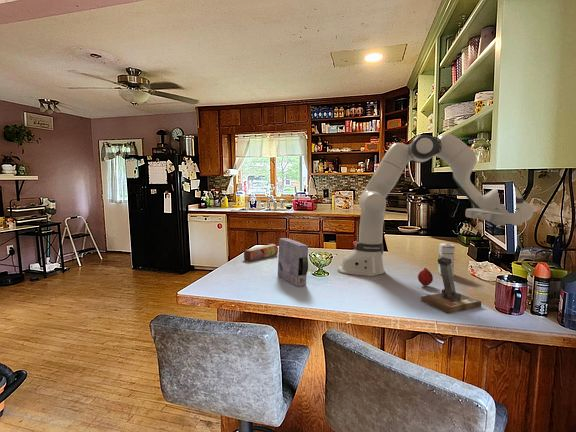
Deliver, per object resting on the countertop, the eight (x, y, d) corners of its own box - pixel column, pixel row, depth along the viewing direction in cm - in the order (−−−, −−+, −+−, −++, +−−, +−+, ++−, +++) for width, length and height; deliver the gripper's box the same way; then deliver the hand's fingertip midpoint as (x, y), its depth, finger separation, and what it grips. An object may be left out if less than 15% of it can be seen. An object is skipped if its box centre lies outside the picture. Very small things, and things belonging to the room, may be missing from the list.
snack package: (250, 262, 181) (250, 250, 180) (242, 260, 185) (242, 248, 184) (278, 255, 196) (278, 244, 195) (270, 254, 200) (270, 242, 200)
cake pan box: (308, 286, 141) (309, 244, 139) (298, 288, 138) (299, 245, 136) (286, 274, 157) (286, 237, 155) (277, 276, 155) (277, 238, 153)
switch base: (452, 295, 130) (453, 284, 129) (481, 306, 119) (482, 294, 118) (420, 301, 123) (421, 289, 123) (448, 313, 113) (448, 300, 112)
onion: (420, 283, 145) (421, 265, 145) (434, 285, 142) (435, 267, 141) (415, 286, 141) (416, 267, 140) (429, 289, 137) (430, 270, 136)
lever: (449, 294, 123) (442, 256, 120) (458, 297, 120) (450, 259, 116) (444, 297, 122) (437, 259, 119) (453, 300, 119) (445, 261, 115)
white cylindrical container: (453, 276, 156) (455, 245, 154) (440, 275, 157) (441, 245, 155) (450, 273, 161) (452, 243, 160) (437, 272, 162) (439, 242, 161)
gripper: (479, 204, 147) (456, 206, 142) (527, 209, 129) (503, 212, 123) (477, 218, 148) (455, 220, 143) (526, 226, 130) (502, 229, 124)
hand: (478, 216), depth 133 cm, fingers closed
